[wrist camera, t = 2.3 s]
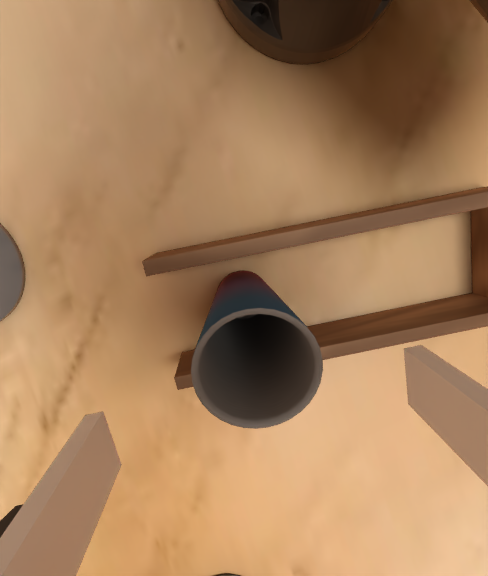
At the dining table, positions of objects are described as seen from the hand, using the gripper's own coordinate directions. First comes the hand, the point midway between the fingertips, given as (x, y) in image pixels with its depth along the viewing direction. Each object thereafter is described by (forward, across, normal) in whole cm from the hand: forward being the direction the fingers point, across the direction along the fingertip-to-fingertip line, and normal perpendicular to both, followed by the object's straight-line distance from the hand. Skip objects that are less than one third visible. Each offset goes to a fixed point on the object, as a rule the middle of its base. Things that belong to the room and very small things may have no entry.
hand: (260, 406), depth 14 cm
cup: (+18, 0, 0) cm, 18 cm away
